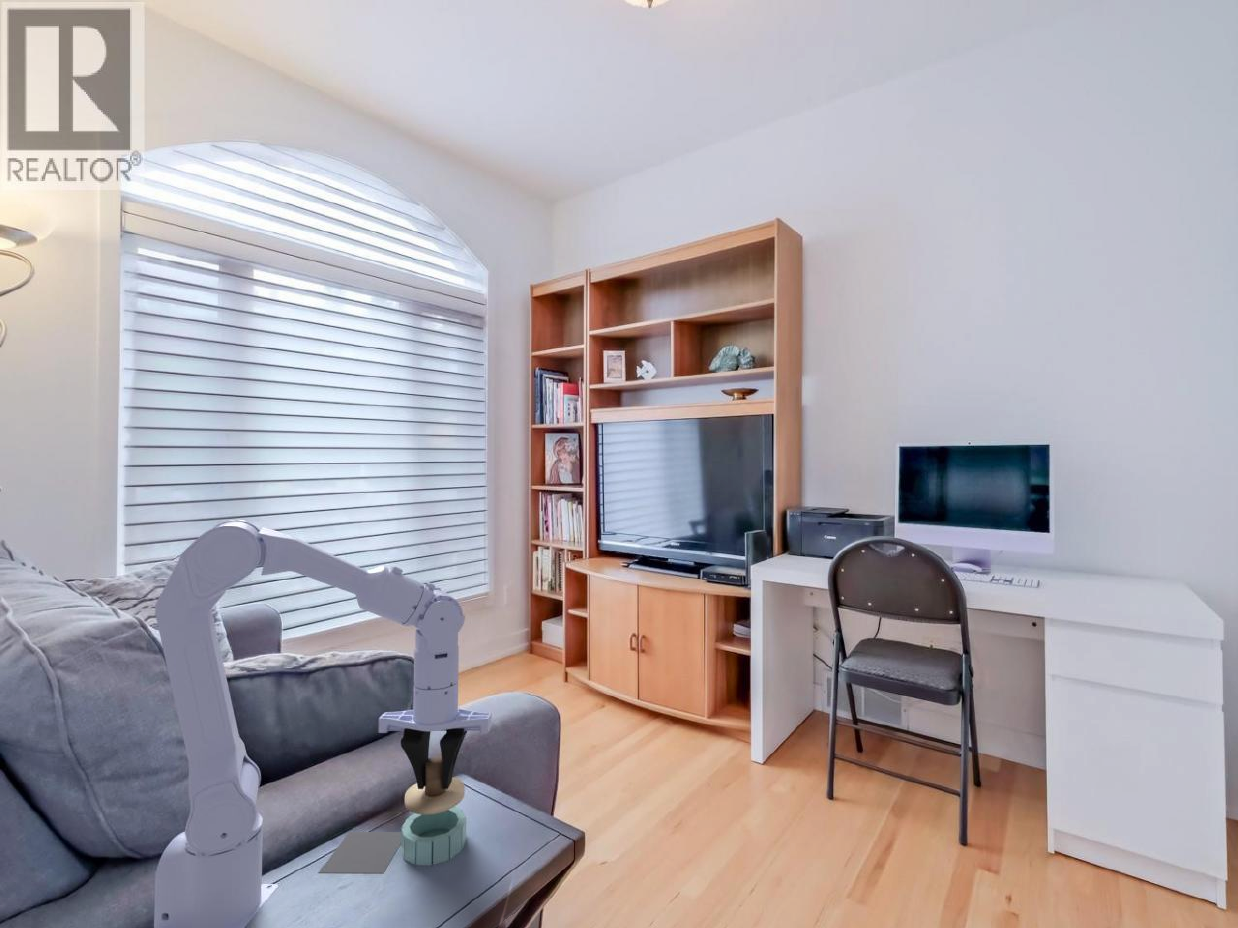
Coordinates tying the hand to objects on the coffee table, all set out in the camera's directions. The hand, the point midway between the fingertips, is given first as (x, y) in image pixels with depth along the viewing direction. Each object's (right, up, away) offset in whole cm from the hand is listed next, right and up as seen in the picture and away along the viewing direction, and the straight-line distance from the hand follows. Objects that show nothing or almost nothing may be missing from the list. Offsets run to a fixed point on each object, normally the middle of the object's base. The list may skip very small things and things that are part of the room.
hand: (435, 784), depth 75 cm
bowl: (0, -8, 0) cm, 8 cm away
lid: (0, -2, 0) cm, 2 cm away
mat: (-9, -8, -2) cm, 12 cm away
